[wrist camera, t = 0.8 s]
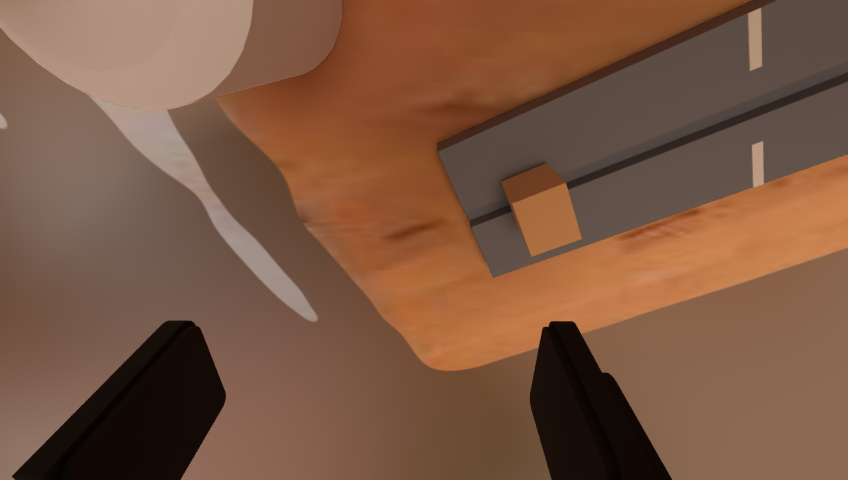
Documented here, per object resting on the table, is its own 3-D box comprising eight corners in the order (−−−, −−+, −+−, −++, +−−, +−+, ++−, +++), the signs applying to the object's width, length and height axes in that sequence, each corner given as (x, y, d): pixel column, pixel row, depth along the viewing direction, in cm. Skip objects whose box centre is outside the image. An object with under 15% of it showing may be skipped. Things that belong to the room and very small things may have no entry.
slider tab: (541, 157, 31) (565, 182, 25) (556, 205, 33) (581, 238, 27) (497, 175, 32) (512, 203, 26) (515, 221, 34) (531, 256, 28)
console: (844, -41, 26) (893, -52, 23) (831, 138, 31) (868, 147, 29) (437, 143, 33) (437, 152, 30) (489, 261, 39) (493, 278, 36)
